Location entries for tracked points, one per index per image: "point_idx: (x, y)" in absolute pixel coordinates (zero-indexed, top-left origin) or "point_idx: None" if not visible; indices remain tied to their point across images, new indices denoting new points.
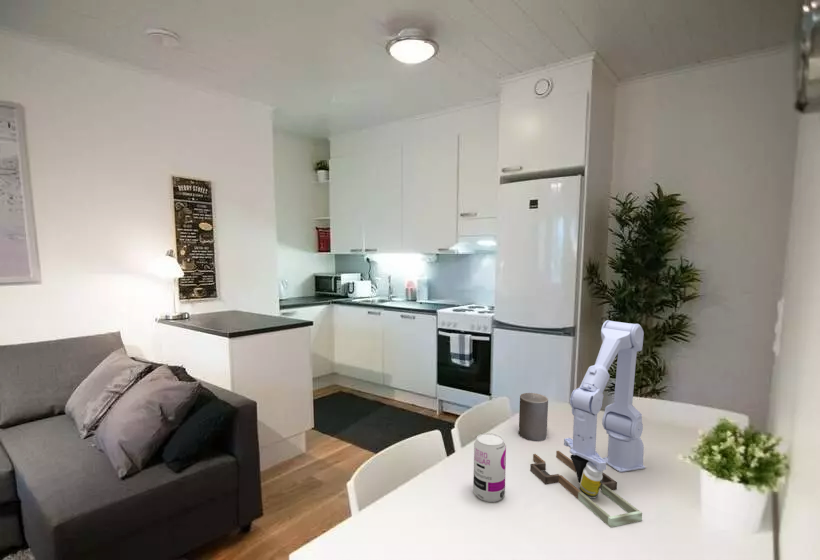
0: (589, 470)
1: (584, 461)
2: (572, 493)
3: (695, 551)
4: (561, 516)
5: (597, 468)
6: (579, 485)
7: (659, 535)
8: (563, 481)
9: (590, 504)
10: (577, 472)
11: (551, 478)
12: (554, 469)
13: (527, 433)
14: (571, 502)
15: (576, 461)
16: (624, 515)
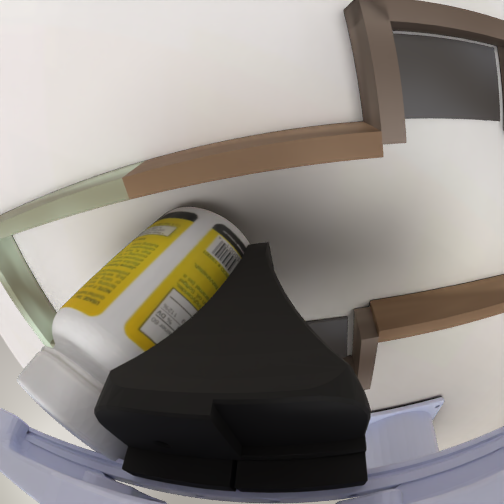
0: (26, 368)
1: (120, 438)
2: (197, 148)
3: (11, 347)
4: (18, 32)
5: (8, 416)
6: (211, 227)
7: (23, 326)
8: (309, 134)
9: (44, 200)
10: (252, 285)
11: (365, 55)
12: (494, 190)
13: None
14: (114, 107)
15: (157, 384)
16: (10, 294)
